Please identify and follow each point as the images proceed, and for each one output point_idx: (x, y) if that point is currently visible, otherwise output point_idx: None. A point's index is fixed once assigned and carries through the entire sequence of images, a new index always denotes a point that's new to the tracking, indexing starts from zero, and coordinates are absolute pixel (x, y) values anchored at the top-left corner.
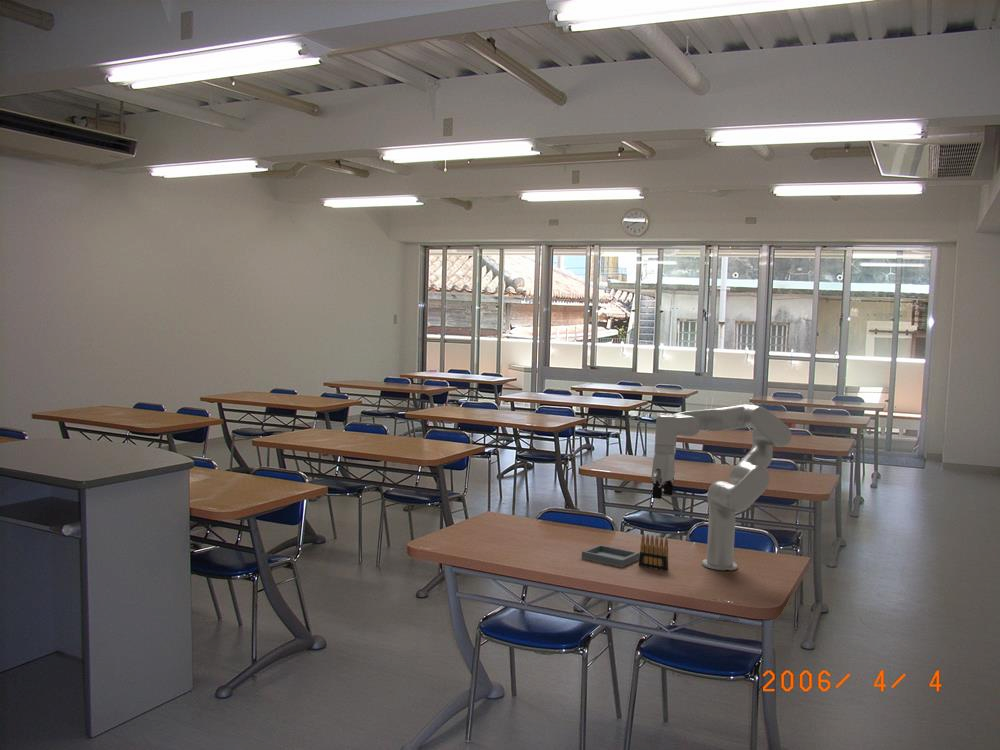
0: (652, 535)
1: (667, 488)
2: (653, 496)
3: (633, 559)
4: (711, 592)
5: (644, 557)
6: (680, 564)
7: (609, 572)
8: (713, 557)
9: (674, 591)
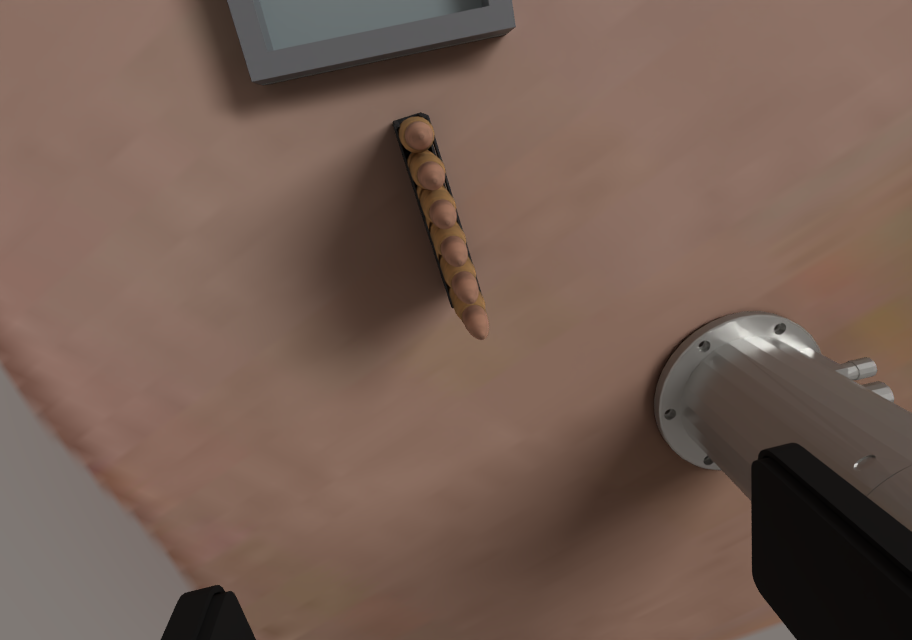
0: (443, 225)
1: (852, 621)
2: (186, 621)
3: (421, 49)
4: (336, 583)
5: (413, 154)
6: (613, 258)
7: (101, 106)
8: (701, 422)
9: (195, 506)
